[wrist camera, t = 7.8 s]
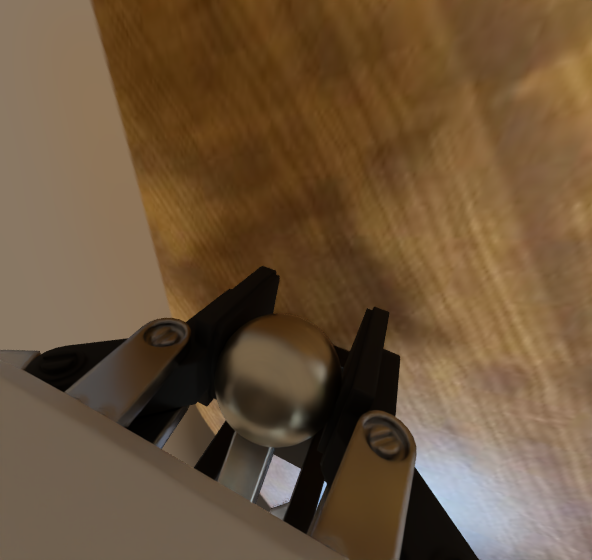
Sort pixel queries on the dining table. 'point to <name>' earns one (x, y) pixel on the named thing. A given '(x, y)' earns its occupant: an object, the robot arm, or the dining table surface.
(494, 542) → the dining table surface
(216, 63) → the dining table surface
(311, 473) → the switch bracket
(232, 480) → the switch lever
